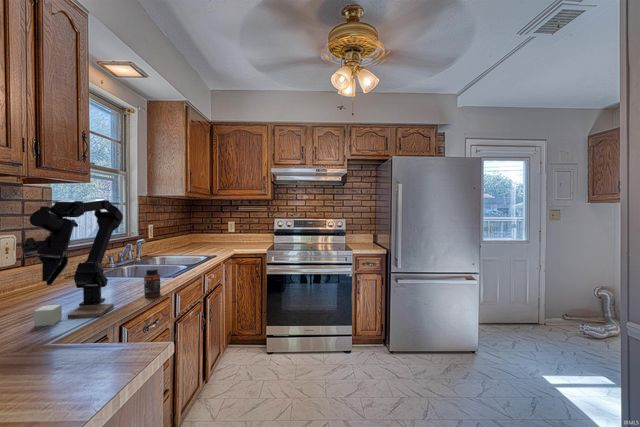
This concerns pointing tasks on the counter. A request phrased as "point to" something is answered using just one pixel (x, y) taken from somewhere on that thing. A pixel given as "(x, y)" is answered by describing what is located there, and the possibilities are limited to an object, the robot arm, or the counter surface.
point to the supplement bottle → (152, 283)
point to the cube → (47, 315)
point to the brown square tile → (90, 310)
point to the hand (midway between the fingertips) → (46, 283)
